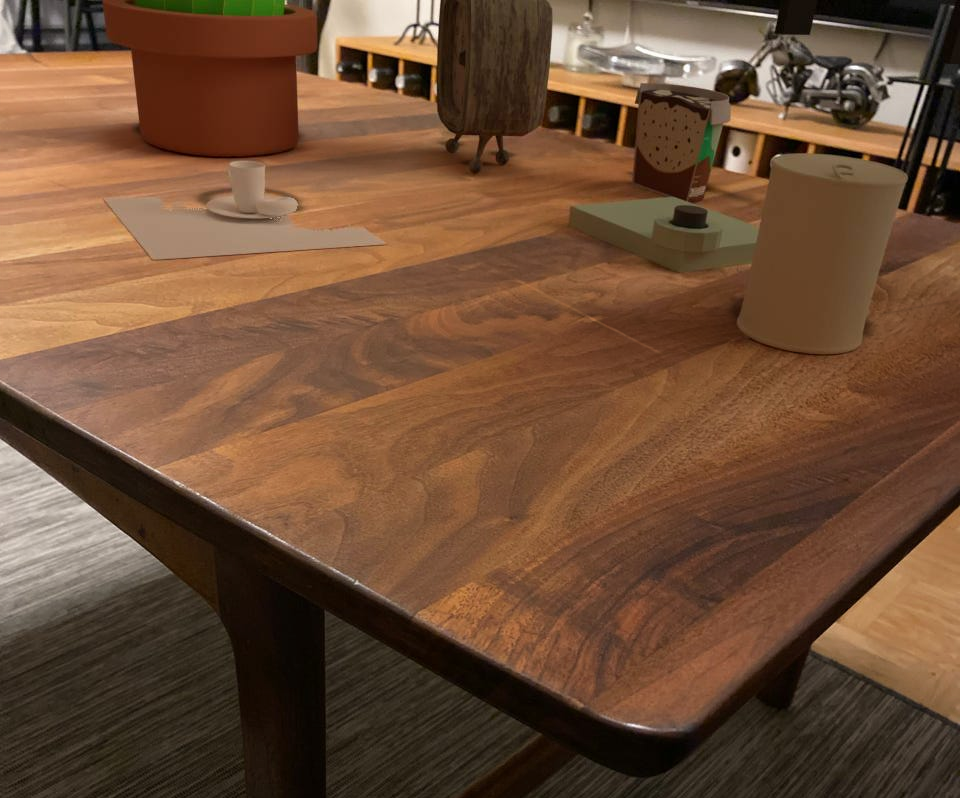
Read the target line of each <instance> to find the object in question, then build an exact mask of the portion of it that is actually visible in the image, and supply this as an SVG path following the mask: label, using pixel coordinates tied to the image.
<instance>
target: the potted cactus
mask: <svg viewBox="0 0 960 798" xmlns="http://www.w3.org/2000/svg"><path fill="white" fill-rule="evenodd" d="M287 1H288V0H287ZM288 2H289V3H290V0H289V1H288ZM102 9H103V10H102V11H103V18H104V25H105V34H106V39H107V40H108V41H109V42H111V43H113V44H116V45H118V46H122V47H126V48H130V52H131V53H130V54H131V62H132V70H133V71H132V72H133V78H134V79H133V80H134V89H135V98H136V106H137V115H138V123H139V131H140V134H141V137H142V139H143V140H144V142H146V143H148V144H150V145H151V146H154V147H157V148H159V149H163V150H166V151H170V152H174V153H180V154H186V155H192V156H204V157H221V158H222V157H223V158H224V157H225V158H226V157H227V158H228V157H230V158H231V156H236V157H254V155H255V156H263V155H264V154H265V155H271V154H278V153H282V152H285V151H288V150H290V149H293V148H295V147H296V146H297V145H298V143H299V132H300V131H299V105H298V103H299V102H298V78H297V77H298V73H297V71H298V69H297V57H300V56H305V55H310V54H314V53H316V52H317V50H318V15H317V12H316V11H314V10H312V9H309V8H306V7H301V6H296V5H291V4H286V0H102ZM265 155H264V156H265Z"/></svg>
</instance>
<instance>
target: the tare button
mask: <svg viewBox="0 0 960 798" xmlns="http://www.w3.org/2000/svg"><path fill="white" fill-rule="evenodd" d="M701 207H702V206H701ZM701 207H697V206H691V205H679V206H676V207H675V209H674V215H673V221H672V225H675V226H678V227H683V228H688V229H704V228H705V224H706V218H707V213H708V211H707V210H706V209H704V208H705V207H704V208H701Z"/></svg>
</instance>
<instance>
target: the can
mask: <svg viewBox="0 0 960 798" xmlns="http://www.w3.org/2000/svg"><path fill="white" fill-rule="evenodd" d="M908 179H909V177H908V174H907V173H906V172H904V171H903V170H902V169H899V168H897V167H894V166H891V165H888V164H885V163H880V162H877V161H872V160H868V159H864V158H863V159H862V158H857V157H850V156H844V155H834V154H826V153H825V154H824V153H803V152H800V153H786V154H780V155H777V156H775V157H773V158H772V159H771V162H770V173H769V178H768V182H767V189H766V192H765V196H764V197H765V198H764V203H763V207H762V208H763V209H762V213H761V219H760V223H759V226H758V227H759V232H758V236H757V241H756V246H755V250H754V255H753V260H752V263H751V264H750V269H749V274H748V278H747V284H746V287H745V292H744V297H743V301H742V303H741V304H742V305H741V307H740V308H741V309H740V312H739V315H738V317H737V318H736V326H737V328H738V330H739V331H740V332H741V333H742V334H743V335H744V336H747V337H748V338H750V339H752V340H754V341H755V342H757V343H760V344H763V345H766V346H769V347H772V348H776V349H779V350H784V351H788V352H793V353H794V352H795V353H800V354H801V353H802V354H807V355H808V354H809V355H837V354H839V355H840V354H844V353H849V352H852V351H854V350H857V349H858V348H859V347H860V346H861V345H862V343H863V340H864V339H863V334H864V329H865V324H866V320H867V317H868V314H869V309H870V306H871V303H872V299H873V295H874V292H875V287H876V285H877V281H878V277H879V273H880V270H881V266H882V263H883V259H884V256H885V253H886V250H887V245H888V242H889V240H890V239H889V238H890V236H891V232H892V229H893V225H894V222H895V219H896V215H897V212H898V209H899V206H900V202H901V198H902V196H903V193H904V189H905V187H906V183H907V182H908Z"/></svg>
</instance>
